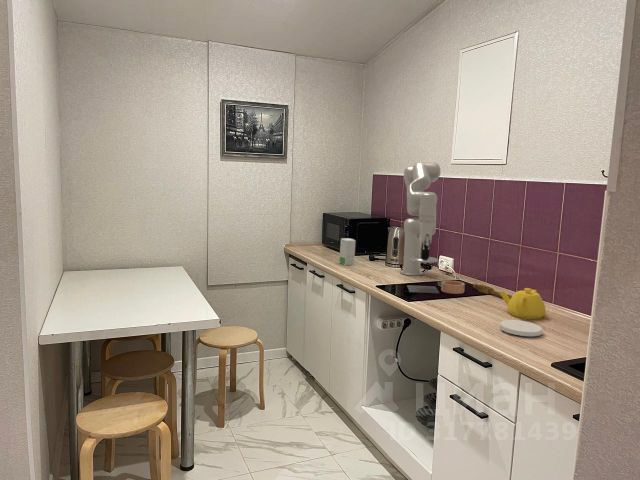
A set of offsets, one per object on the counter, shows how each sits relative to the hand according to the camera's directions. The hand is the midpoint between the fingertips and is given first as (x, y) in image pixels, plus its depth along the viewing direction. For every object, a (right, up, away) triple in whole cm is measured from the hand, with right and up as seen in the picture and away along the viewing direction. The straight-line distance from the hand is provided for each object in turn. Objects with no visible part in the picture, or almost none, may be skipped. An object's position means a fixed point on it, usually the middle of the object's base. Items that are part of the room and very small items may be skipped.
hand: (424, 256), depth 230 cm
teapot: (+32, -22, -34) cm, 52 cm away
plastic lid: (+22, -25, -58) cm, 67 cm away
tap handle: (+32, -19, -5) cm, 37 cm away
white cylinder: (-34, -7, +65) cm, 73 cm away
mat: (-1, -16, +2) cm, 16 cm away
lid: (0, -2, 0) cm, 2 cm away
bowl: (+13, -17, 0) cm, 22 cm away
